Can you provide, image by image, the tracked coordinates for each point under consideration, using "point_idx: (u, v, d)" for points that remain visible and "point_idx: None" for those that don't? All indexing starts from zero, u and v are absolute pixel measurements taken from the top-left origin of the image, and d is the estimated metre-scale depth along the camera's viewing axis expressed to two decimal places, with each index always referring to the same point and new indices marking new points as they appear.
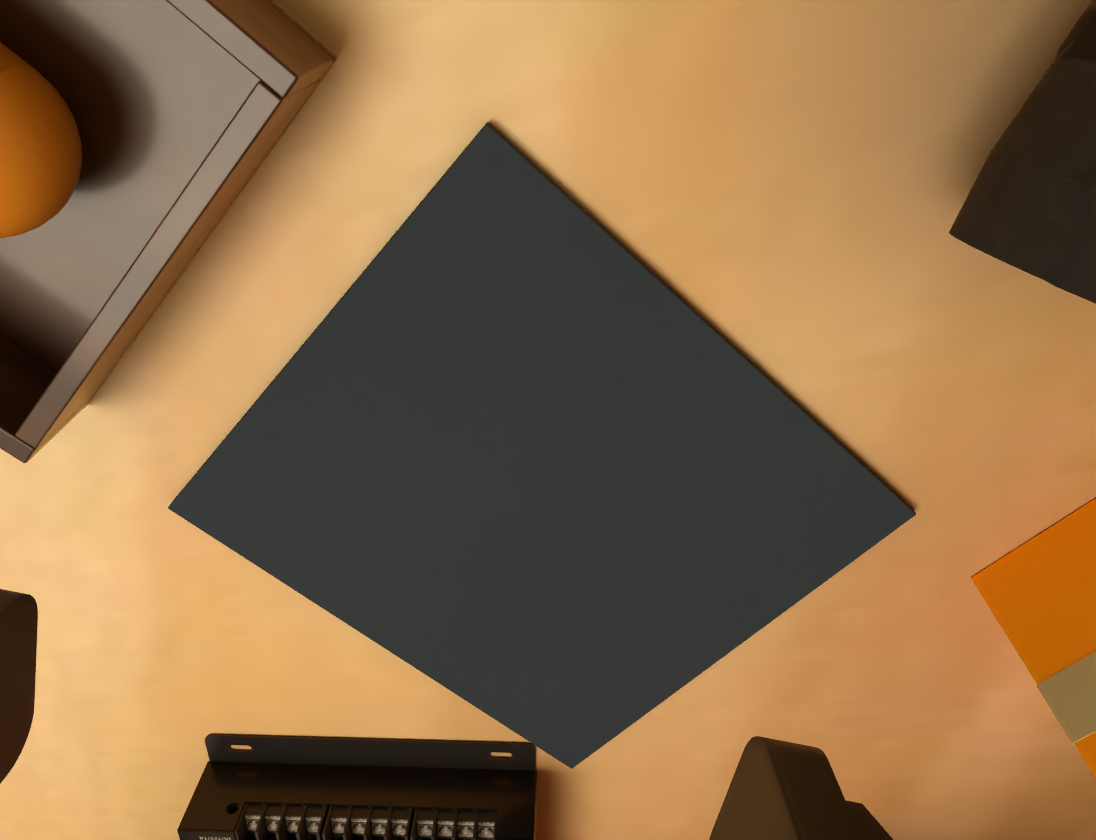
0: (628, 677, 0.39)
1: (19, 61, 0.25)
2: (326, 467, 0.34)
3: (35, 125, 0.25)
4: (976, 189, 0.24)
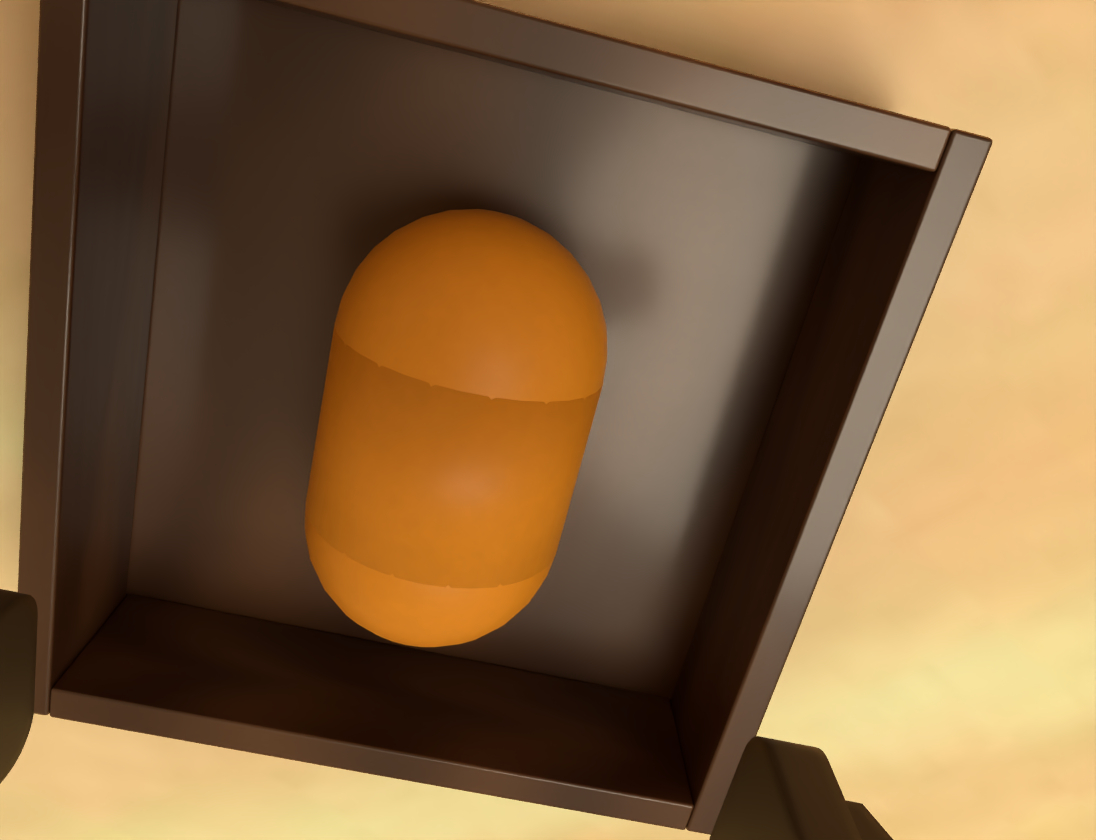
0: None
1: None
2: None
3: (371, 264, 0.17)
4: None
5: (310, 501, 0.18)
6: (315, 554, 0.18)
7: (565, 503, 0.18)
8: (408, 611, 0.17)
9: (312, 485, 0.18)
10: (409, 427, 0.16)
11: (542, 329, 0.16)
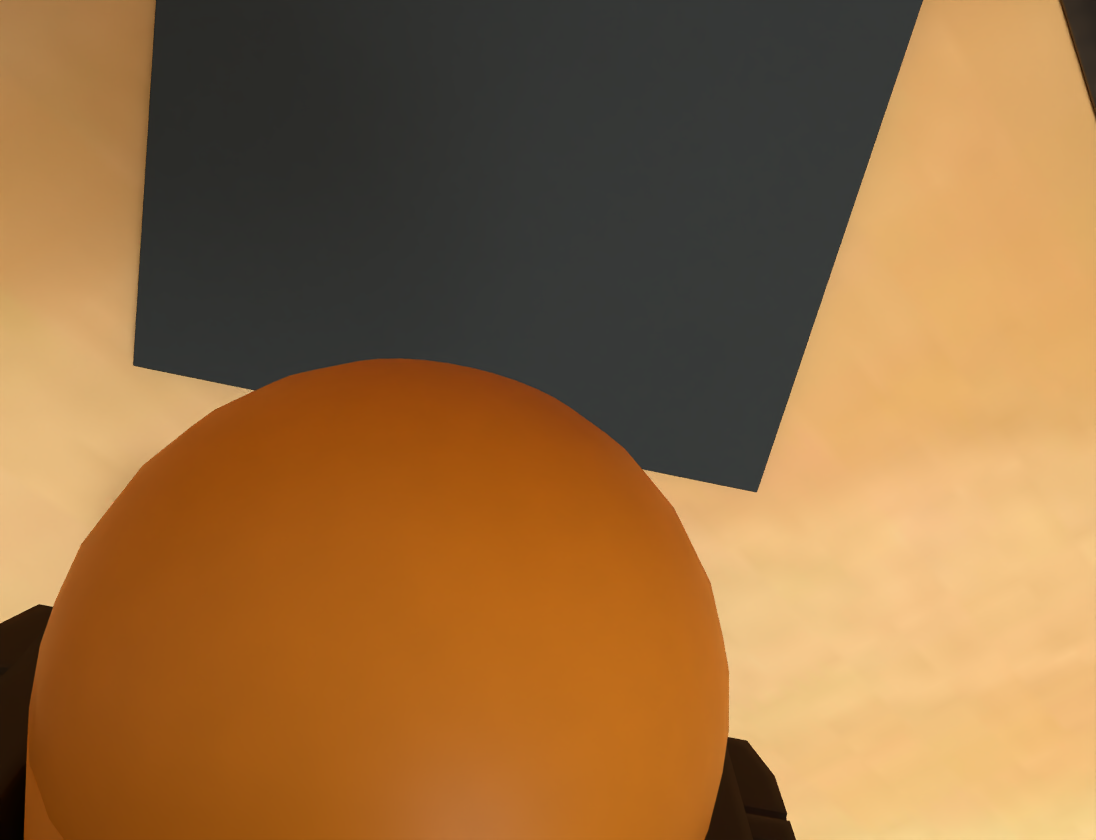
0: None
1: None
2: (606, 350, 0.27)
3: (104, 541, 0.06)
4: None
5: None
6: None
7: None
8: None
9: None
10: None
11: (577, 772, 0.05)
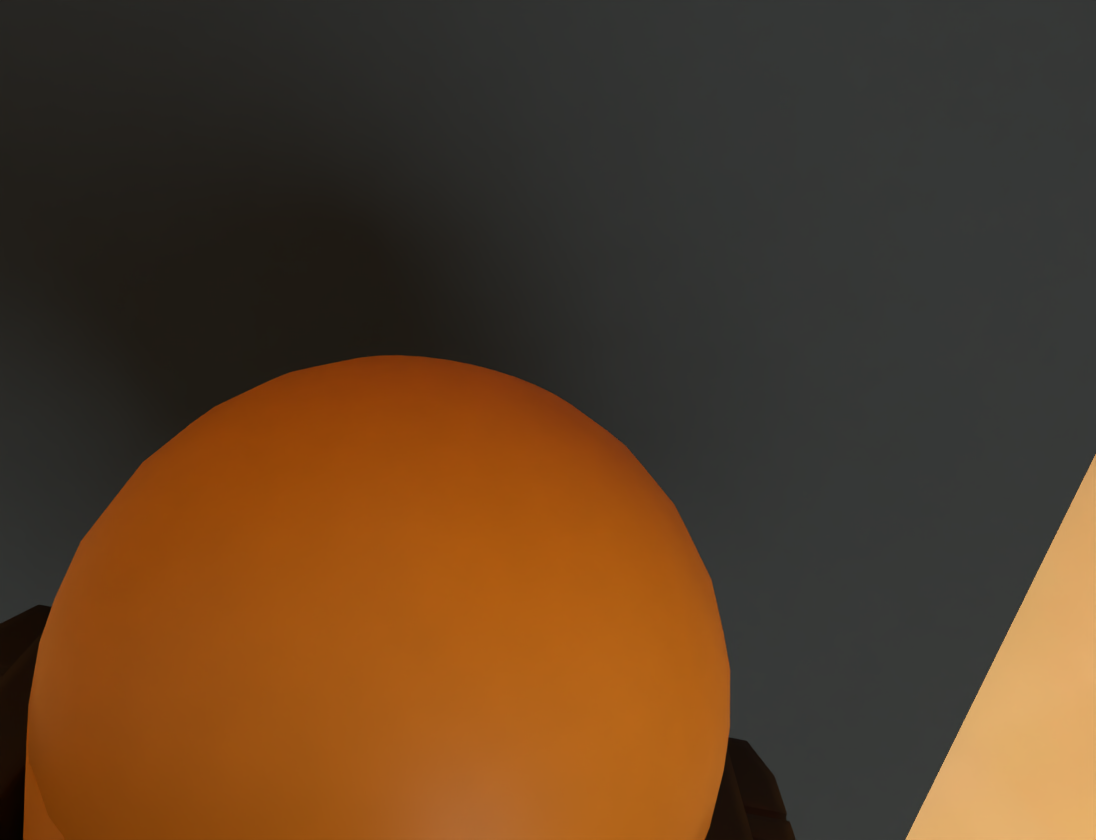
0: (850, 20, 0.12)
1: None
2: None
3: (103, 538, 0.06)
4: None
5: None
6: None
7: None
8: None
9: None
10: None
11: (579, 770, 0.05)
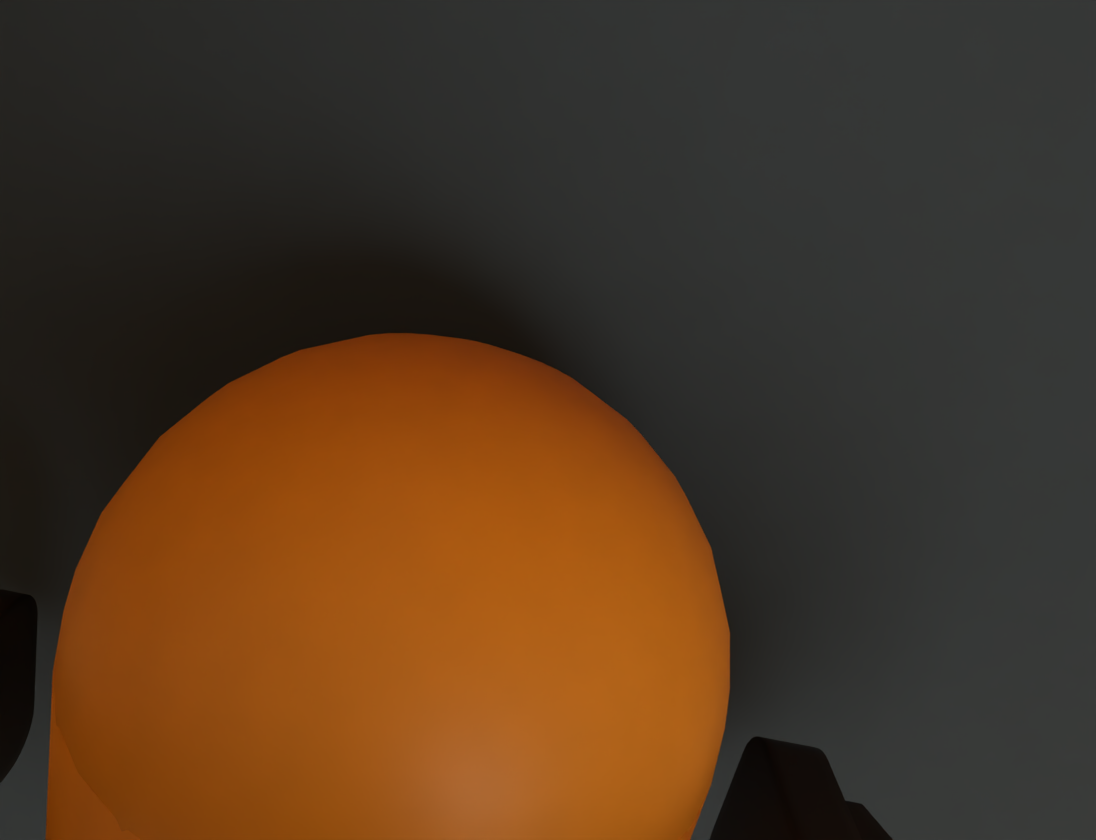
0: None
1: None
2: None
3: (126, 507, 0.06)
4: None
5: None
6: None
7: None
8: None
9: None
10: None
11: (590, 720, 0.06)
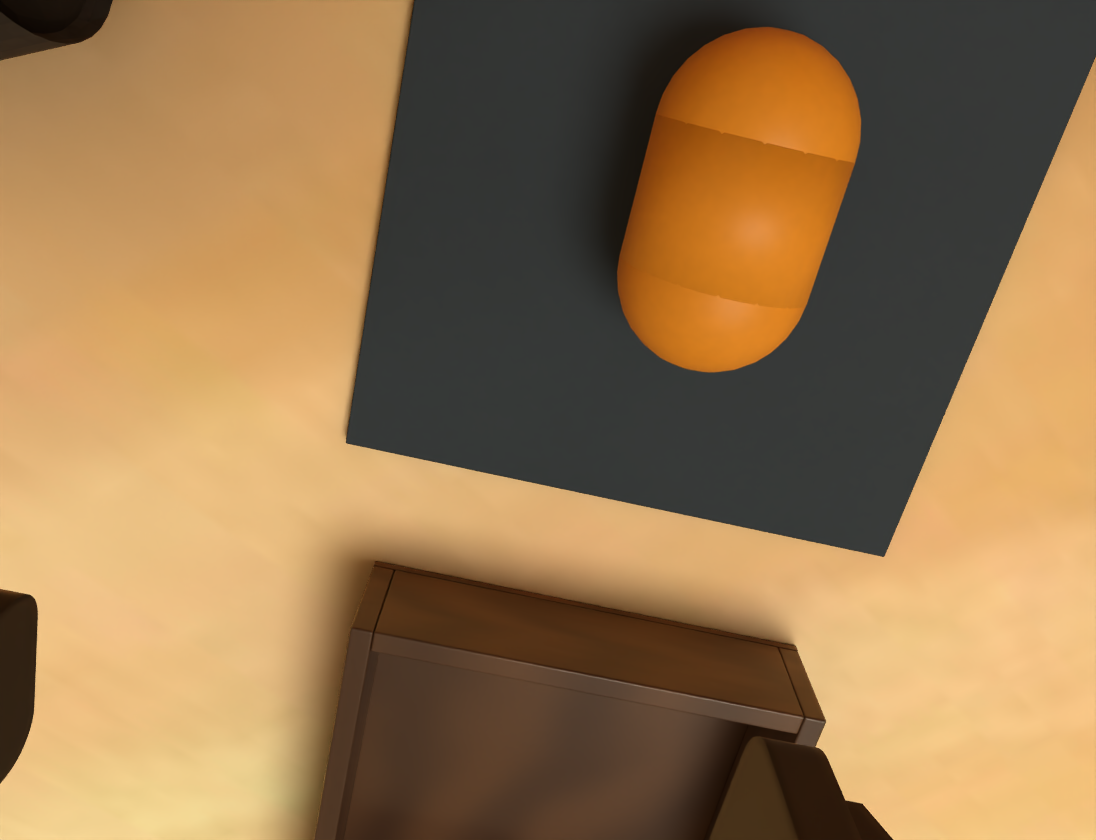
0: None
1: (654, 120, 0.25)
2: (759, 435, 0.31)
3: (702, 64, 0.23)
4: None
5: (638, 255, 0.24)
6: (645, 293, 0.24)
7: (824, 252, 0.25)
8: (725, 326, 0.24)
9: (641, 242, 0.24)
10: (743, 177, 0.22)
11: (838, 103, 0.22)
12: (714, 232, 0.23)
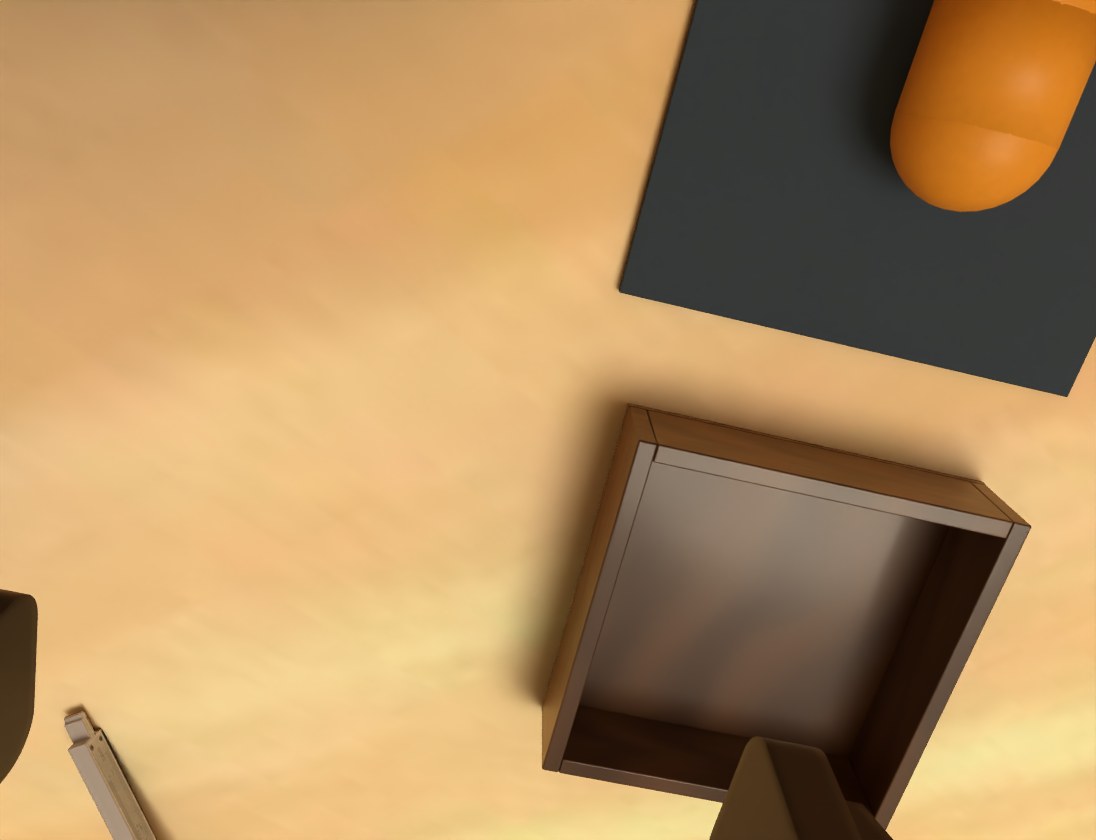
0: None
1: None
2: (972, 285, 0.36)
3: None
4: None
5: (933, 105, 0.30)
6: (940, 136, 0.30)
7: None
8: (1011, 160, 0.29)
9: (937, 94, 0.30)
10: (1042, 33, 0.28)
11: None
12: (1012, 79, 0.28)
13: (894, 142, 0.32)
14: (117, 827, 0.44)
